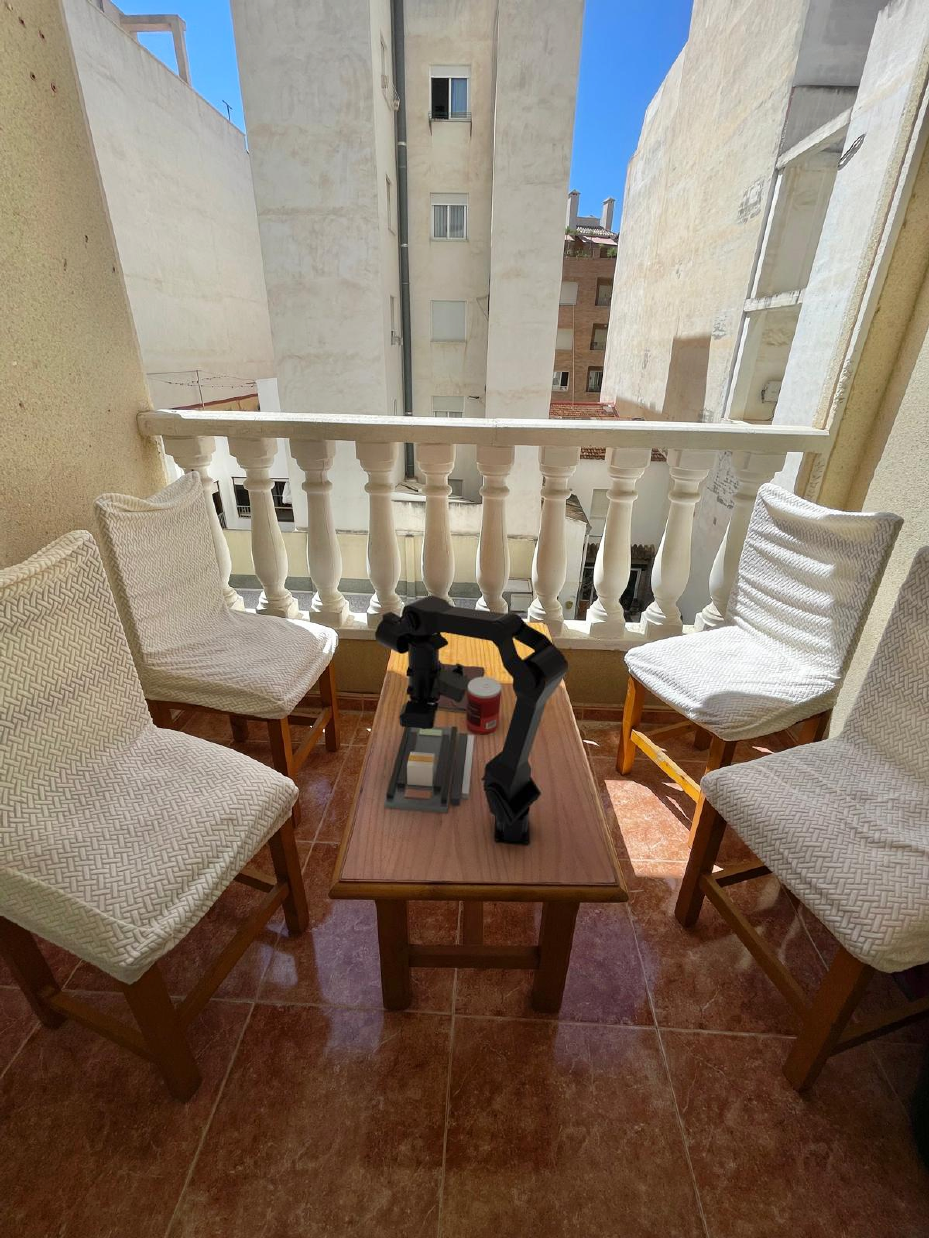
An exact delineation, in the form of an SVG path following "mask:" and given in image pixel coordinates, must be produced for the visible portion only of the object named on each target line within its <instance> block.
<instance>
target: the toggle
mask: <svg viewBox="0 0 929 1238" xmlns="http://www.w3.org/2000/svg"><path fill="white" fill-rule="evenodd" d="M434 774H435V754H433V753H421V752H410V755H409V758H408V764H407V784H408V785H420V786H432V785H433V779H434Z"/></svg>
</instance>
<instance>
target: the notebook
mask: <svg viewBox="0 0 929 1238" xmlns="http://www.w3.org/2000/svg"><path fill="white" fill-rule="evenodd" d="M442 665H444V666H445V670H448V668H450V669H451V667H453V666H454V665H455V664H452V663H451V664H449V663H442ZM463 666H464V675H468V676H467V678H468V679H469V682H470V681H471V680H473V679H475V678H478V677H484V675H485V667H482V666H476V665H471V666H469V665H463ZM469 682H468V684H469ZM467 690H468V689H467ZM435 703H439V704H438V708H437V711H441V712H451V713H457V714H459V713H460V714H465V715H466V713H467V691H466V693H465V695H464V697H463V699H462V701H461V702H455V701H454V700H452V699H450V698H447V697H444V696H442V695H440V699H439V700H438V701H437V702H435Z"/></svg>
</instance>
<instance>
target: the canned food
mask: <svg viewBox="0 0 929 1238" xmlns="http://www.w3.org/2000/svg"><path fill="white" fill-rule="evenodd" d="M501 697H502V685H501V682H500V681H499V680H497V679H495V678H492V677H489V676H483V677H478V678H475V679H473V680H471V681H470V682H469V684H468V690H467V713H466V714H465V716H466V718H465V722H466V726H467V728H468V730H469V731H471V732H472V733H474V734H479V735H486V734H490V733H493V732H494V731H495V730H497V728H498V726H499V720H500V712H501V710H500V709H501V699H502V698H501Z"/></svg>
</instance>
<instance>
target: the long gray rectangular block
mask: <svg viewBox="0 0 929 1238" xmlns="http://www.w3.org/2000/svg"><path fill="white" fill-rule="evenodd" d="M474 743H475V734H473V735H472V734H468V733H467V732H458V738H457V746H456V753H455V756H456V757H455V761H454V762H455V763H454V768H453V776H452V784H451V785H452V787H451V791H450V803H449V804H450V806H457V807H460V805H461V799H465V800H466V799H467V800H469V797H470V788H471V787H470V785H471V775H472V763H473V756H474V754H473V753H474Z"/></svg>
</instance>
